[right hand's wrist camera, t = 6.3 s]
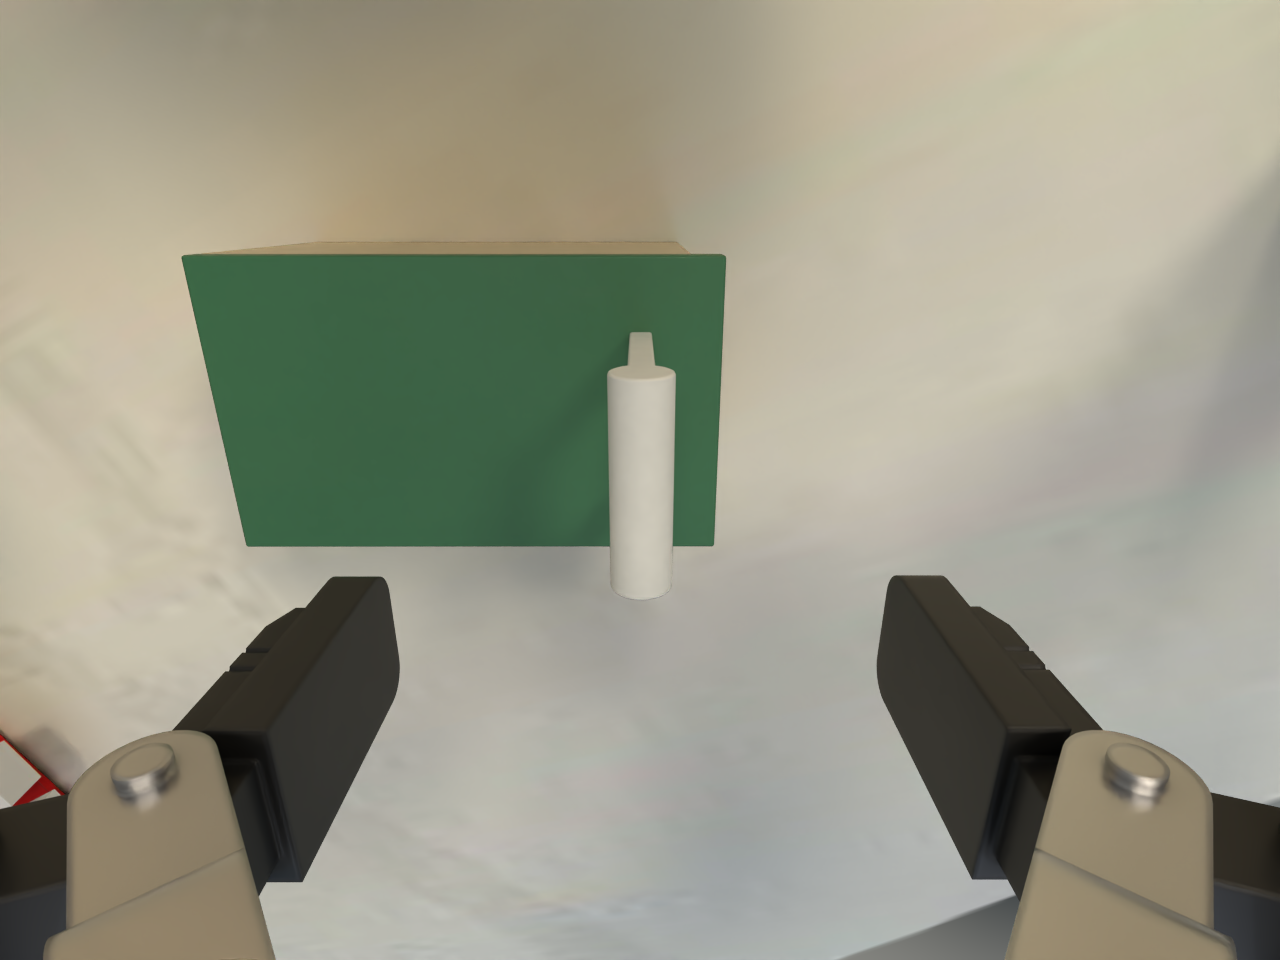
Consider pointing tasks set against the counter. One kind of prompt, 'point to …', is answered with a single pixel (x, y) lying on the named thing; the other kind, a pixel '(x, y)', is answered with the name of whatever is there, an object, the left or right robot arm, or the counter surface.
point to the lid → (470, 399)
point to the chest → (469, 248)
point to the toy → (21, 779)
